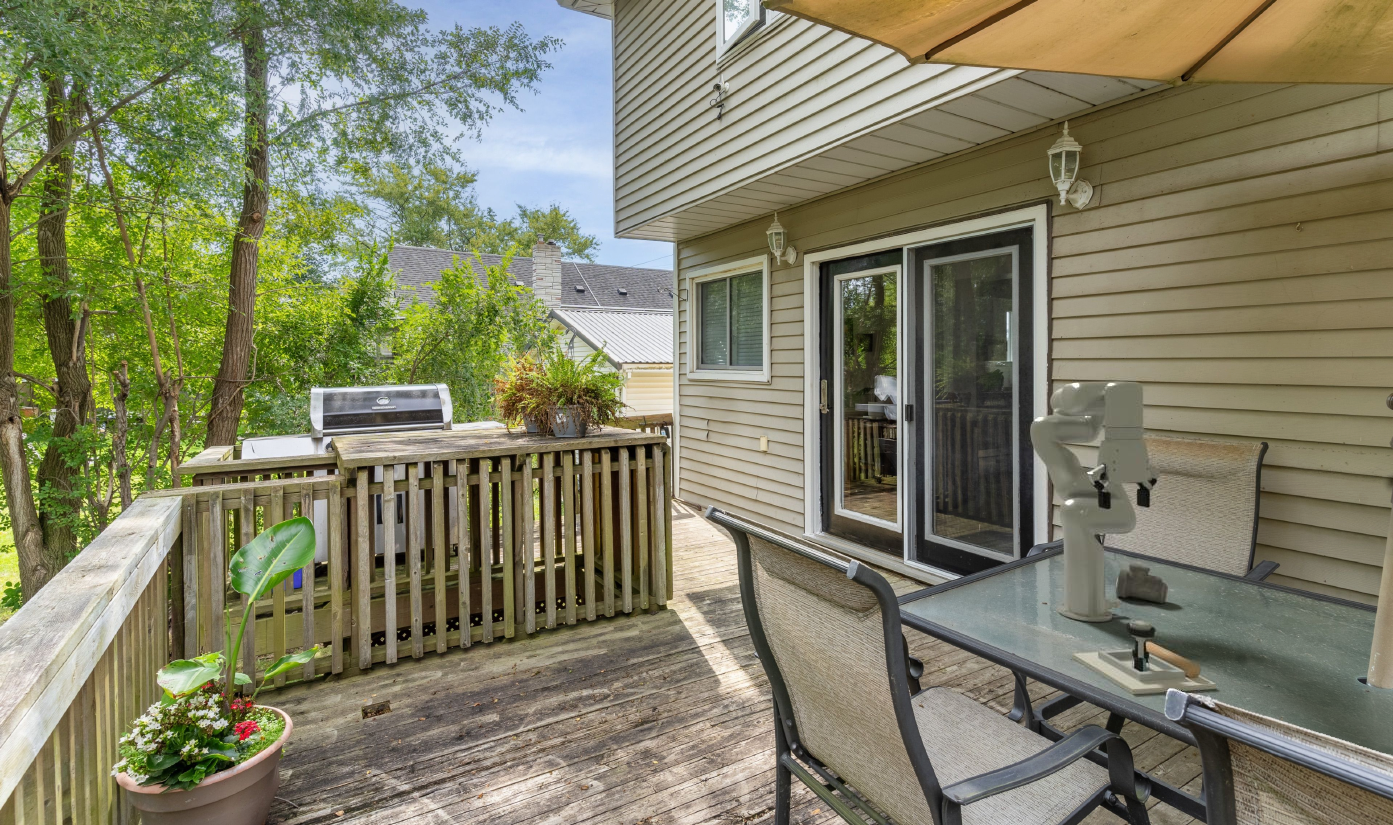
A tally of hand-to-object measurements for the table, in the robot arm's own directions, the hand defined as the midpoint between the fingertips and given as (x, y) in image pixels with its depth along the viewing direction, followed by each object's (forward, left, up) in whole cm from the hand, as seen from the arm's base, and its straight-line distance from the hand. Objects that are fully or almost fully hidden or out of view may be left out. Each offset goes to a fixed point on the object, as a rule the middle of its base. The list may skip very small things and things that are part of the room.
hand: (1123, 507), depth 151 cm
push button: (+7, +13, -32) cm, 35 cm away
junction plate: (+7, +13, -33) cm, 36 cm away
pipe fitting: (-30, -31, -34) cm, 55 cm away
